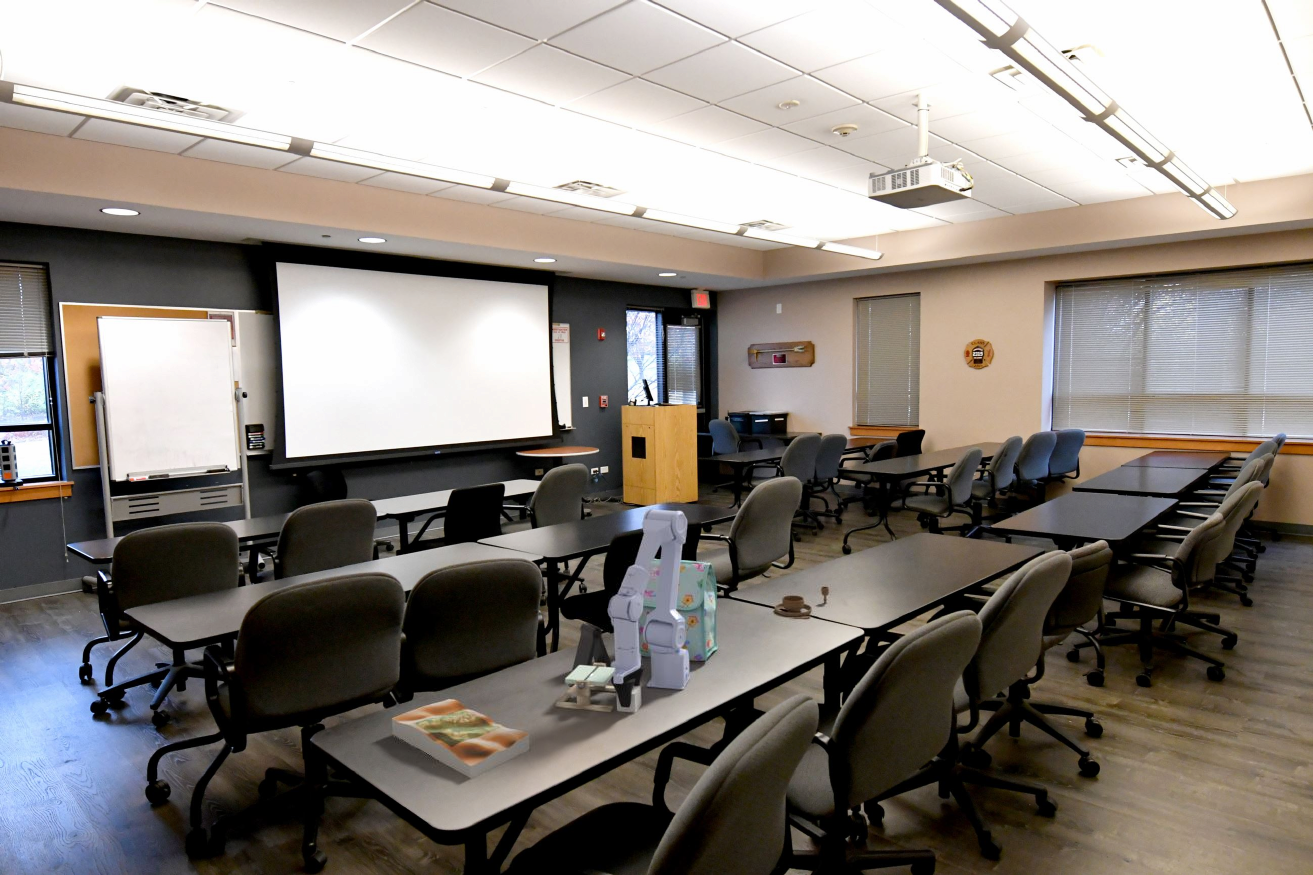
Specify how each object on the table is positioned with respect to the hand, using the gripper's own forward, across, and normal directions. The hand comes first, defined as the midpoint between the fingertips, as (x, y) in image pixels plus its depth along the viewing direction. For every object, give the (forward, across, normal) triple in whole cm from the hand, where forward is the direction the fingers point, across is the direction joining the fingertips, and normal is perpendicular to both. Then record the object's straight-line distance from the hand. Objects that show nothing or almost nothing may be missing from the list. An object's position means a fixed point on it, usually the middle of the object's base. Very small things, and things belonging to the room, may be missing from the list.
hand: (629, 701), depth 176 cm
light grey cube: (+2, 0, 0) cm, 2 cm away
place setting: (+2, -82, +34) cm, 89 cm away
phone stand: (+2, -21, -18) cm, 27 cm away
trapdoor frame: (+1, -3, -10) cm, 11 cm away
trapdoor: (-2, -3, -11) cm, 11 cm away
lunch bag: (+2, -37, +2) cm, 37 cm away
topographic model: (+2, +24, -31) cm, 39 cm away
